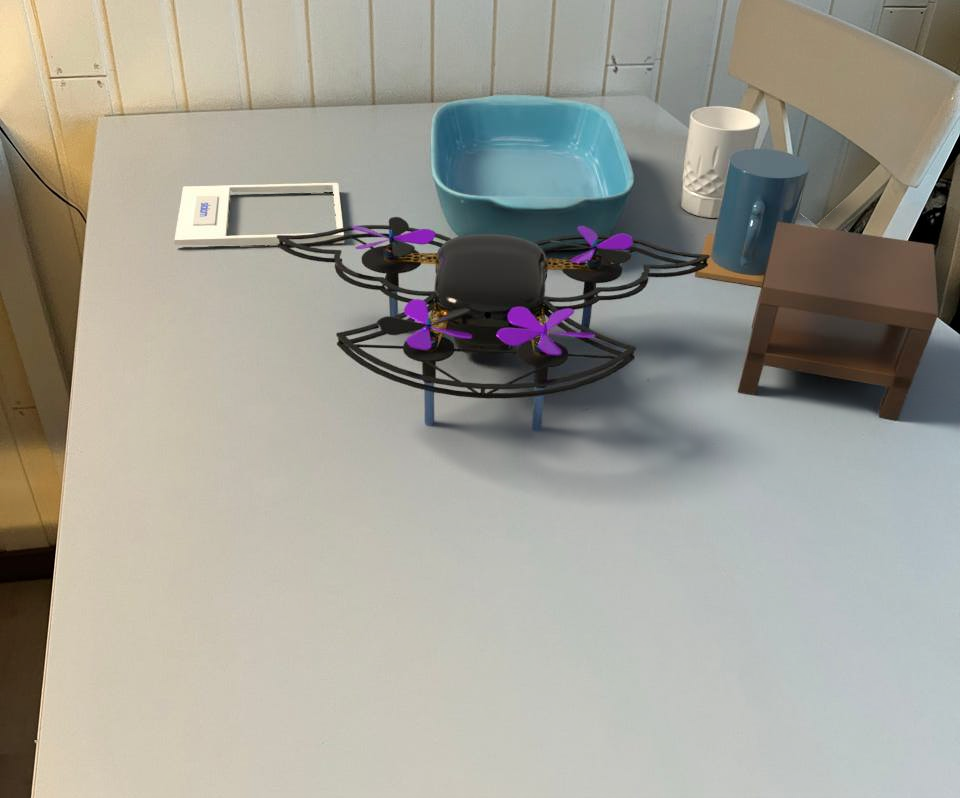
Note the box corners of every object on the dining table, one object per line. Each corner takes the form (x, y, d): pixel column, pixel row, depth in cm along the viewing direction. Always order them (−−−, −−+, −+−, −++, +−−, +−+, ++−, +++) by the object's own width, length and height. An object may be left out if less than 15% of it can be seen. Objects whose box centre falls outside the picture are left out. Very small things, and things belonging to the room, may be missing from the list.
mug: (787, 249, 110) (811, 154, 102) (779, 292, 102) (805, 193, 95) (715, 238, 111) (734, 144, 104) (702, 280, 104) (721, 182, 96)
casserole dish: (431, 146, 130) (431, 86, 125) (600, 149, 131) (606, 90, 126) (430, 272, 104) (429, 203, 99) (639, 275, 105) (649, 207, 100)
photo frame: (183, 184, 115) (337, 181, 118) (184, 194, 116) (338, 190, 118) (174, 238, 105) (343, 233, 107) (176, 248, 106) (344, 243, 108)
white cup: (729, 193, 122) (747, 105, 115) (750, 220, 116) (770, 129, 109) (667, 195, 121) (682, 106, 114) (685, 221, 115) (702, 130, 108)
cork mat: (795, 252, 110) (797, 247, 110) (789, 291, 104) (790, 285, 103) (706, 238, 112) (707, 233, 112) (694, 276, 106) (695, 270, 105)
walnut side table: (897, 345, 96) (934, 244, 89) (897, 420, 87) (938, 314, 80) (752, 321, 99) (777, 221, 92) (737, 392, 89) (763, 286, 82)
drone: (709, 220, 92) (755, 378, 72) (690, 317, 99) (728, 485, 79) (281, 201, 92) (212, 352, 73) (292, 299, 99) (232, 462, 80)
